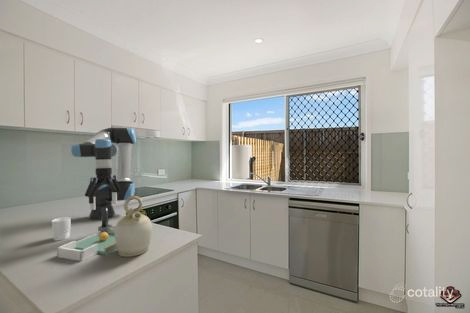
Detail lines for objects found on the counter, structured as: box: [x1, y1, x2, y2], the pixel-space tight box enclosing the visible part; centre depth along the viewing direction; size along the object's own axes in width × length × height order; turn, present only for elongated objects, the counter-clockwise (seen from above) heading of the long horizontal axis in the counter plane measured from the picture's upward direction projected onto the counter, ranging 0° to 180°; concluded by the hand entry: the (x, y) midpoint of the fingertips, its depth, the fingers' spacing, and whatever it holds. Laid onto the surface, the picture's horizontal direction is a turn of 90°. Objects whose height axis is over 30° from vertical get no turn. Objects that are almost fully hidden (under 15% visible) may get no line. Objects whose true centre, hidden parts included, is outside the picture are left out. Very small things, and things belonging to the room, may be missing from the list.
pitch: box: [75, 231, 118, 255], centre depth 108 cm, size 22×24×3 cm
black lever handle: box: [97, 207, 116, 232], centre depth 116 cm, size 5×14×12 cm, turn 74°
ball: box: [99, 232, 108, 241], centre depth 106 cm, size 4×4×4 cm
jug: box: [114, 195, 153, 258], centre depth 97 cm, size 15×16×25 cm
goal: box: [56, 240, 99, 262], centre depth 93 cm, size 8×14×4 cm, turn 74°
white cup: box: [51, 216, 72, 241], centre depth 112 cm, size 8×8×10 cm
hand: (104, 206), depth 116 cm, fingers open, 13 cm apart
